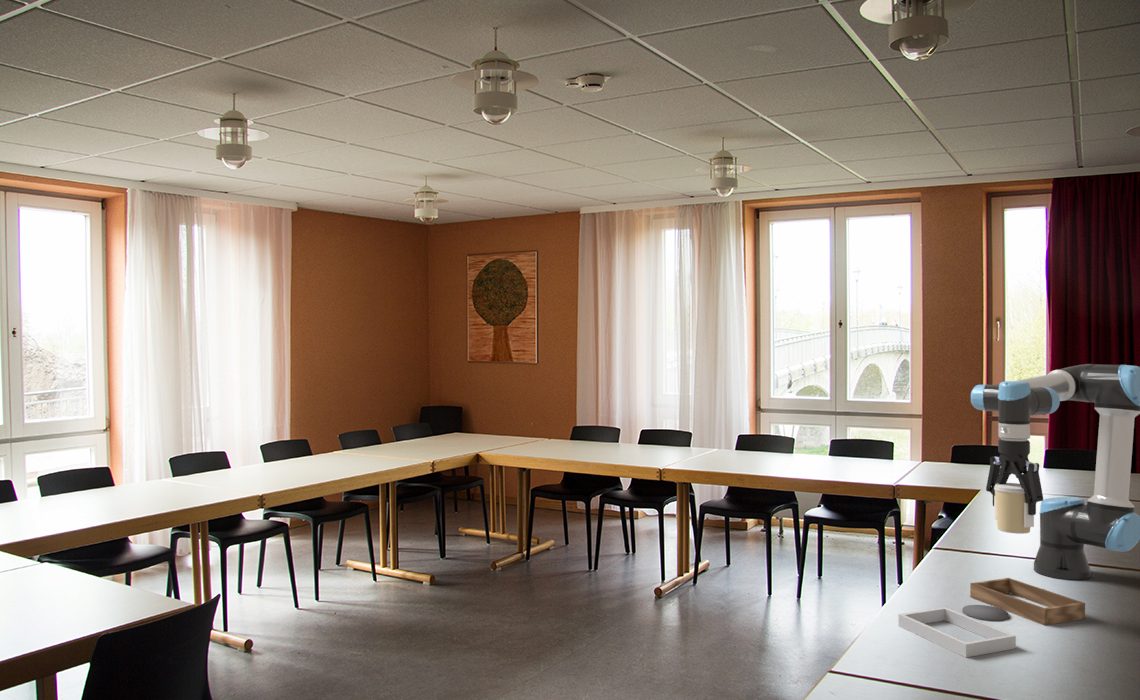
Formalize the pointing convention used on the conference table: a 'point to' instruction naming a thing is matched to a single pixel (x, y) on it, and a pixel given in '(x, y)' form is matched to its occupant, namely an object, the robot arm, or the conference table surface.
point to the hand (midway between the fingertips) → (1013, 522)
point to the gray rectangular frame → (917, 625)
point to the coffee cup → (1010, 508)
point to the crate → (1057, 604)
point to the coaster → (985, 612)
